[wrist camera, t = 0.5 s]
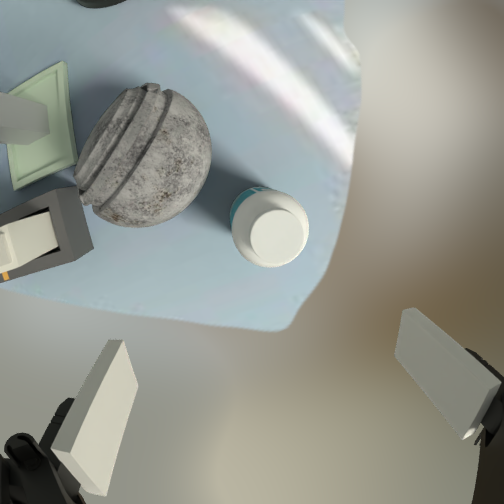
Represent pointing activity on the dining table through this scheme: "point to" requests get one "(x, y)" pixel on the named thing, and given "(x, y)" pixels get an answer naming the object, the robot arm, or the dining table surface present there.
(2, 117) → the plug
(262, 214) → the pill bottle
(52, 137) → the tray
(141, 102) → the decorative orb
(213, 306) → the dining table surface
